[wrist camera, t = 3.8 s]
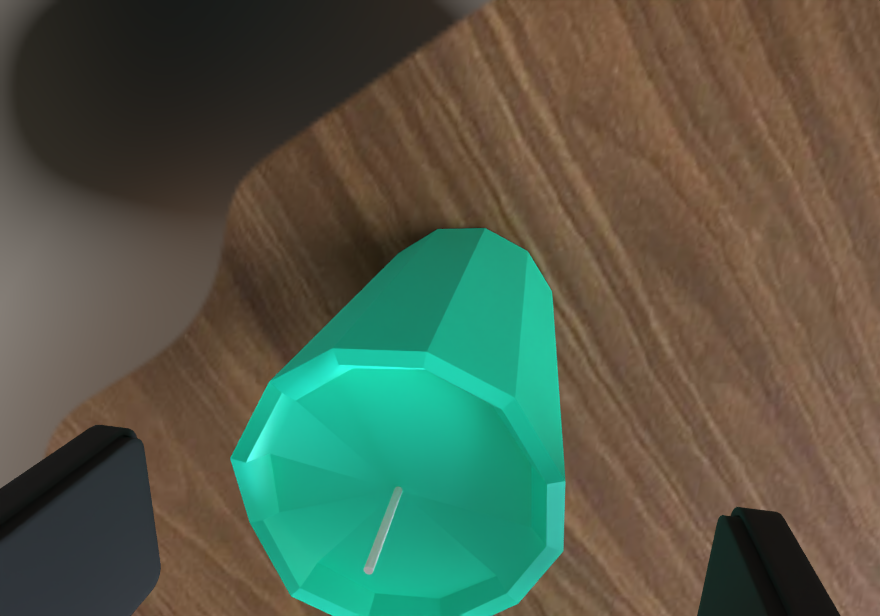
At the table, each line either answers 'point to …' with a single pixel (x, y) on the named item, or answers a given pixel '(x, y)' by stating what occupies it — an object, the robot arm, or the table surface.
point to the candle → (416, 440)
